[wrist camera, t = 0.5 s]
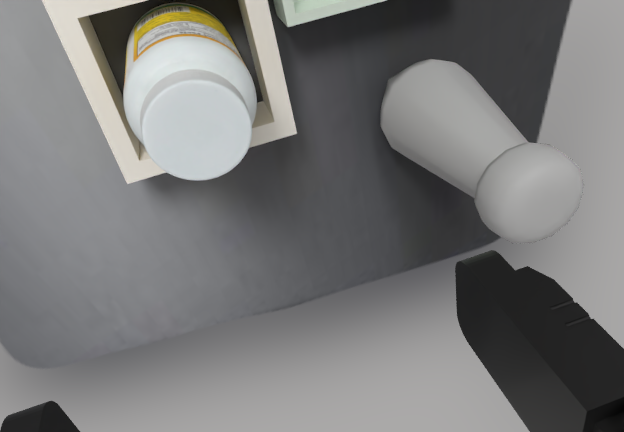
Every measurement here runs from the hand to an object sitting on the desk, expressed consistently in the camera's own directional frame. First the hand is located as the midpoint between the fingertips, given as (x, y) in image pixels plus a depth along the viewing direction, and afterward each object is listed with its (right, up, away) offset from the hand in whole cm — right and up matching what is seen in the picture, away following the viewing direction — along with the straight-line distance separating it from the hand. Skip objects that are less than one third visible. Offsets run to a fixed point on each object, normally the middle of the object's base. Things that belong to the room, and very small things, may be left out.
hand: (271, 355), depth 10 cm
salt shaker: (+7, +10, +21) cm, 25 cm away
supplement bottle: (-6, +11, +17) cm, 21 cm away
